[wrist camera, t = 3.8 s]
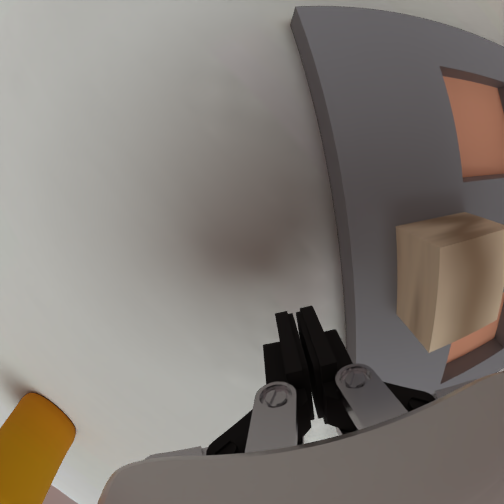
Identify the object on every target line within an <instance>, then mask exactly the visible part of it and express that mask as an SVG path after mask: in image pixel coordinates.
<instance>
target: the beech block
mask: <svg viewBox="0 0 504 504" xmlns="http://www.w3.org/2000/svg"><path fill="white" fill-rule="evenodd" d="M396 241H397V312H396V315H397V316H398V317H399V318H400V319H401V320H402V321H403V323H404V324H405V325H406V326H407V327H408V328H409V330H410V331H411V332H412V333H413V334H414V336H415V337H416V338H417V339H418V340H419V342H420V343H421V344H422V345H423V346H424V348H425V349H426V350H427V351H428V353H430V352H432V351H435V350H437V349H439V348H442V347H444V346H446V345H448V344H451V343H453V342H455V341H457V340H459V339H461V338H463V337H465V336H467V335H469V334H471V333H473V332H475V331H477V330H479V329H481V328H483V327H485V326H487V325H488V324H490V323H492V322H494V321H496V320H497V317H498V313H499V309H500V304H501V299H502V294H503V289H504V225H503V224H500V223H497V222H494V221H491V220H488V219H485V218H482V217H479V216H476V215H473V214H470V213H466V212H462V213H457V214H453V215H448V216H443V217H438V218H433V219H428V220H424V221H419V222H414V223H409V224H404V225H399V226H396Z"/></svg>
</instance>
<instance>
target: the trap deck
mask: <svg viewBox="0 0 504 504" xmlns="http://www.w3.org/2000/svg"><path fill="white" fill-rule="evenodd" d="M291 28H292V31H293V34H294V37H295V40H296V43H297V46H298V50H299V53H300V56H301V59H302V63H303V66H304V69H305V73H306V77H307V80H308V84H309V87H310V91H311V95H312V99H313V103H314V107H315V111H316V115H317V120H318V124H319V128H320V133H321V137H322V142H323V147H324V152H325V157H326V162H327V167H328V173H329V178H330V184H331V190H332V196H333V203H334V209H335V216H336V223H337V231H338V239H339V247H340V256H341V266H342V277H343V288H344V302H345V319H346V343H347V352H348V354H349V356H350V358H351V361H352V363H353V364H358V363H359V364H365V365H367V366H369V367H371V368H372V369H373V370H374V371H375V373H376V374H377V375H378V376H379V377H380V379H381V380H382V381H383V382H386V383H390V384H394V385H399V386H403V387H407V388H411V389H416V390H420V391H425V392H427V393H430V394H434V391H435V390H439V389H443V388H447V387H450V386H454V385H457V384H460V383H464V382H467V381H470V380H474V379H480V378H482V377H485V376H488V375H491V374H494V373H497V372H498V371H500V370H501V369H502V368H504V289H503V294H502V299H501V304H500V309H499V313H498V317H497V320H496V321H494V322H492V323H490V324H488V325H487V326H485V327H483V328H481V329H479V330H477V331H475V332H473V333H471V334H469V335H467V336H465V337H463V338H461V339H459V340H457V341H455V342H453V343H451V344H448V345H446V346H444V347H442V348H439V349H437V350H435V351H432V352H430V353H428V351H427V350H426V349H425V348H424V346H423V345H422V344H421V343H420V342H419V340H418V339H417V338H416V337H415V336H414V334H413V333H412V332H411V331H410V330H409V328H408V327H407V326H406V325H405V324H404V323H403V321H402V320H401V319H400V318H399V317H398V316H397V315H396V312H397V241H396V226H399V225H404V224H409V223H414V222H419V221H424V220H428V219H433V218H438V217H443V216H448V215H453V214H457V213H462V212H466V213H470V214H473V215H476V216H479V217H482V218H485V219H488V220H491V221H494V222H497V223H500V224H503V225H504V47H503V46H501V45H499V44H496V43H494V42H492V41H490V40H487V39H485V38H483V37H480V36H478V35H475V34H473V33H470V32H467V31H464V30H462V29H459V28H456V27H453V26H449V25H446V24H443V23H439V22H436V21H432V20H428V19H424V18H420V17H416V16H411V15H406V14H401V13H395V12H389V11H383V10H375V9H366V8H355V7H339V6H299V7H295V10H294V14H293V17H292V21H291Z"/></svg>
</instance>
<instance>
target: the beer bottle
mask: <svg viewBox="0 0 504 504" xmlns="http://www.w3.org/2000/svg"><path fill="white" fill-rule="evenodd" d="M75 434H76V432H75V428H74V425H73V424H72V422H71V421H70V419H69V418H68V417H67V416H66V415H65V414H64V413H63V412H62V411H61V410H60V409H59V408H58V407H57V406H55V405H54V404H53V403H52V402H50V401H49V400H47V399H46V398H44V397H43V396H41V395H39V394H36V393H28V394H26V395H25V396H24V397H23V398H22V399H21V400H20V402H19V403H18V405H17V406H16V407H15V409H14V410H13V412H12V413H11V414H10V416H9V417H8V419H7V420H6V421H5V423H4V424H3V425H2V427H1V428H0V504H42V503H43V501H44V499H45V496H46V494H47V492H48V490H49V488H50V485H51V483H52V481H53V479H54V477H55V475H56V473H57V471H58V469H59V467H60V465H61V463H62V461H63V459H64V457H65V455H66V453H67V451H68V450H69V448H70V446H71V445H72V443H73V440H74V438H75Z"/></svg>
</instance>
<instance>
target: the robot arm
mask: <svg viewBox="0 0 504 504" xmlns="http://www.w3.org/2000/svg"><path fill="white" fill-rule="evenodd" d="M275 316H276V322H277V327H278V333H279V338H280V342H276V343H271V344H265V345H263V351H264V362H265V374H266V385H264V386H263V387H261V388H260V389H259V390H258V391H257V393H256V395H255V399H254V405H253V409H252V410H251V411H250V412H249V413H248V414H247V415H245V416H244V417H243V418H242V419H241V420H239V421H238V422H237V423H236V424H235V425H233V426H232V427H231V428H230V429H228V430H227V431H226V432H225V433H223V434H222V435H221V436H220V437H218V438H217V439H216V440H215V441H213V442H212V443H211V444H210V445H209V447H206V448H202V447H201V446H199V447H194V448H189V449H184V450H178V451H172V452H166V453H158V454H154V455H150V456H149V457H147V458H146V459H145V460H142V461H138V462H133V463H130V464H127V465H125V466H123V467H121V468H119V469H117V470H116V471H115V472H114V473H113V474H112V475H111V477H110V478H109V480H108V481H107V483H106V485H105V487H104V489H103V491H102V494H101V496H100V498H99V501H98V504H504V371H503V372H498V373H494V374H491V375H488V376H485V377H482V378H480V379H474V380H470V381H467V382H464V383H460V384H457V385H454V386H450V387H447V388H443V389H439V390H435V391H434V394H430V393H427V392H425V391H420V390H416V389H411V388H407V387H403V386H399V385H394V384H390V383H386V382H383V381H382V380H381V379H380V377H379V376H378V375H377V374H376V373H375V371H374V370H373V369H372V368H371V367H369V366H367V365H365V364H359V363H358V364H353V363H352V361H351V358H350V356H349V354H348V352H347V350H346V348H345V346H344V344H343V342H342V340H341V339H340V337H339V335H338V333H337V331H336V330H335V329H334V330H330V331H326V332H324V331H323V329H322V326H321V324H320V322H319V320H318V317H317V315H316V313H315V311H314V308H313V306H308V307H304V308H300V312H296V316H297V323H298V329H299V334H298V331H297V327H296V324H295V320H294V317H293V314H292V313H291V314H288V313H287V311H285V312H280V313H275ZM299 336H300V337H299ZM311 392H312V393H311ZM312 396H313V400H314V404H315V408H316V411H317V415H318V418H323V419H324V422H325V424H330V425H332V426H335V427H336V430H337V433H338V435H339V436H336V437H332V438H328V439H324V440H320V441H315V442H311V443H306V444H304V435H305V434H306V433H307V432H308V431H309V429H310V428H311V421H310V420H314V411H313V402H312Z"/></svg>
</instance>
